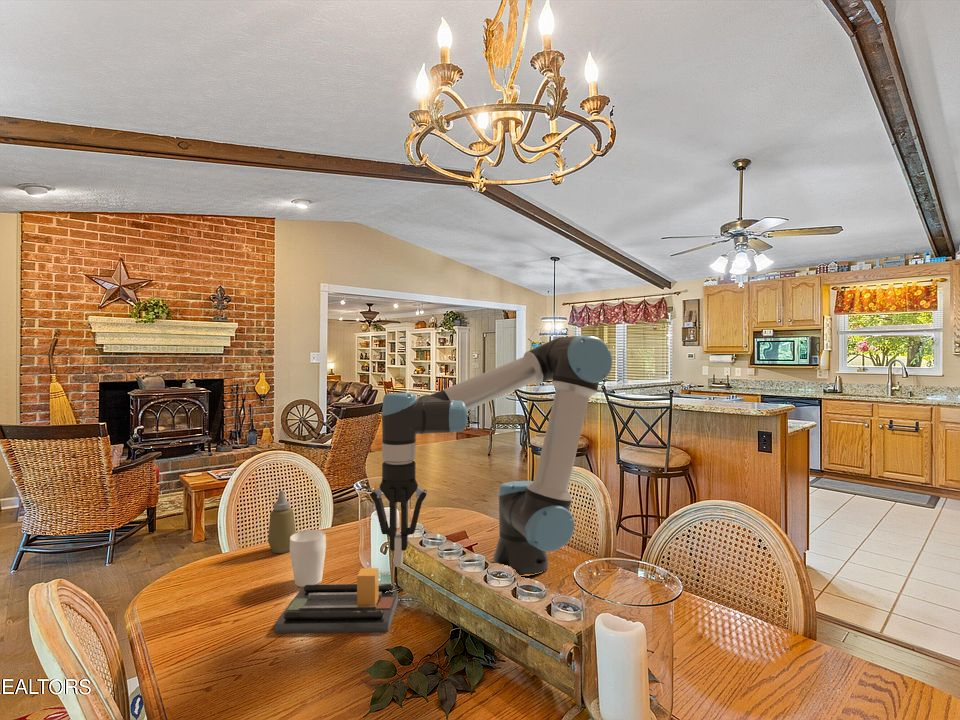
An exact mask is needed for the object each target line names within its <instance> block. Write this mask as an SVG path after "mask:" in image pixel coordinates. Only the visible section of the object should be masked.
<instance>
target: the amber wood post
mask: <svg viewBox="0 0 960 720" xmlns="http://www.w3.org/2000/svg"><path fill="white" fill-rule="evenodd" d="M356 584H357V605H376V604H377V601H378V599H379V584H380V583H379V567H368V568H365V567H364V568H362V567H361V568H360V570H359V571H358V573H357V575H356Z"/></svg>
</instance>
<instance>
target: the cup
mask: <svg viewBox="0 0 960 720" xmlns="http://www.w3.org/2000/svg"><path fill="white" fill-rule="evenodd" d="M326 537H327V535H326V532H325V531H324V530H320V529H305V530H301V531H298V532H297V531H296V533H295V534H293V535H292V536H291V537H290V551H289V554H290V560H291V568H292V573H293V579H294V584H295V586H298V587H300V588H304V586H305V585H319V583H321V582H322V580H323V573H324V566H325V557H326V552H327V551H326V550H327V538H326Z"/></svg>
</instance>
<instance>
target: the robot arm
mask: <svg viewBox="0 0 960 720" xmlns="http://www.w3.org/2000/svg"><path fill="white" fill-rule="evenodd" d="M612 366H613V357H612V352H611V351H610V349H609V347H608V345H607V344H606V342H605V341H603V339H601V338H599V337H598V336H593V335H585V334H579V335H574V336H572V335H571V336H562V337H561V336H560V337H556V338H554V339H552V340H550V341H547V342H545V343H543V344H541V345H539V346H536V347H535V348H533V349H530V350H528V351H525V353H524V355H523V357H520V358H518V359H516V360H512V361H510V362H508V363H506V364H503V365H501V366H498V367H496V368H493V369H491V370H488V371H486V372H483V373H480V374H479V375H478V374H477V376H476V375H475V376H474V377H471V378H468V379H466V380H463V381H462V382H459V383H456V384H455V385H451V386H449V387H447V388H444V389H442V390H439V391H436V392H434V393H431V394H423V395H420V396H418V397H417V396H416V394H415V393H413V392H389V393H387V394H385V395H384V396H383V397H382V398H383V399H382V409H381V410H382V412H381V415H382V416H381V424H382V425H381V426H382V427H381V431H382V435H381V436H382V438H381V439H382V441H381V443H382V444H381V445H382V449H381V459H382V461H383V462H382V464H381V478H382V479H381V482H380V484H379V487H377V488H376V489H373V490H372V491H371V492H370V493H369V496H370V499H371V500H372V501H373V503H374V506H375V510H376V513H377V514H376V515H377V518H378V522H379V523H378V524H379V528H380V530H381V534H382V535H387V536H388V537H389V550H390V551H394V567H395V568H398V567H399V568H400V567H402V565H403V563H404V551H407V549H408V545H409V544H408V543H409V542H408V537H409V535H414V534H415V532H416V528H417V524H418V520H419V517H420V511H421V508H422V505H423V501H424V500H425V499H426V497H427V494H428V491H427V490H426V489H422V488H420V487H419V484H418V482H417V480H416V479H417V478H416V475H417V473H416V471H417V470H416V462H415V459H416V457H417V456H416V455H417V454H416V451H417V450H416V445H417V444H416V443H417V442H416V441H417V440H416V436H417V435H418V434H419V435H423V434H446V433H448V434H449V433H450V434H453V433H460V432H463V431H464V430H465V429H466V428H467V425H468V415H469V414H468V411H469V410H472V409H474V408H476V407H479V406H481V405H483V404H485V403H488V402H491V401H493V400H495V399H498V398H499V397H502V396H504V395H507V394H510V393H512V392H514V391H517V390H519V389H521V388H524V387H525V386H529V385H531V384H534V383H535V384H536V385H540V384H542V383H545V382H548V381H551V383H552V385H553V386H554V388H555V393H554V397H553V400H552V401H553V402H552V406H551V409H550V414H549V418H548V423H547V427H546V429H545V430H546V431H545V434H544V439H543V444H542V447H541V451H540V455H539V460H538V464H537V468H536V472H535V476H534V480H516V481H515V480H514V481H509V482H508V481H507V482H504V483H502V484H500V486H499V489H498V518H499V519H498V521H499V525H498V526H499V527H498V529H499V533H498V534H499V535H498V536H499V537H498V541H497V544H496V547H495V550H494V554H493V559H492V561H493V562H494V563H499V564H504V565H508V566H511V567H512V568H513V569H515V570H516V572H517V573H518V574H519V575H524V574H535V573H539V572H542V571H544V570H546V569H547V570H548V568H549V558H548V557H549V556H548V554H547V553H548V552H555V551H558V550H560V549H561V548H563V547H564V546H566V545H567V544H568V542H570V540H571V539H572V537H573V534H574V531H575V521H574V520H575V519H574V517H573V514H572V513H571V512H570V510H571V504H572V500H573V498H572V496H571V494H570V493H569V485H570V481H571V478H572V472H573V468H574V464H575V460H576V455H577V451H578V448H579V443H580V439H581V436H582V435H581V434H582V430H583V425H584V421H585V417H586V412H587V409H588V406H589V405H588V404H589V399H590V398H591V397H592V396H594V395H595V394H597V393H598V389H599V386H600V385H599V383H600V382H601V381H603V380H604V379H606V378H607V377H608V376H609V374H610V373H611V370H612ZM414 494H415V498H416V499H417V500H416V502H415V505H414V510H413V514H412V518H411V523H410V525H409V501H410V500H411V498H412V497H413V496H414ZM383 495H384V497H385V498H386V499H387V500H388V503H389V504H388V505H389V523H388V518H387V515H386V510H385V507H384V503H383V502H384V501H383V499H382V497H383ZM398 503H400V533H397V531H398V529H397V526H398V525H397V524H398V523H397V522H398V520H397V518H398V517H397V515H398V514H397V511H398V509H397V507H398V506H397V504H398ZM493 562H492V563H493ZM547 567H548V568H547ZM547 570H546V571H547Z"/></svg>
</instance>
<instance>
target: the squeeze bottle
mask: <svg viewBox="0 0 960 720" xmlns="http://www.w3.org/2000/svg"><path fill="white" fill-rule="evenodd" d="M295 522H296V521H295V515H294V509H292V508H291V501H289V500H287V498H286V494H285V492H284V490H279V491H278V497H277V501H276V502H274V503H273V510H272V511H270V513H269V525H268V526H269V527H268V537H267V543H268V545H269V548H270V550H271V552H272V553H274V554H285V553H290V537H291V536H292V535H293V534H295V533H297V529H296V523H295Z"/></svg>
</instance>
